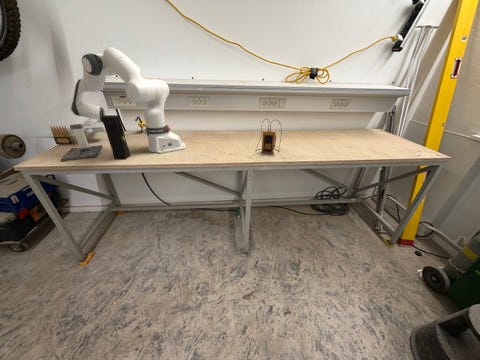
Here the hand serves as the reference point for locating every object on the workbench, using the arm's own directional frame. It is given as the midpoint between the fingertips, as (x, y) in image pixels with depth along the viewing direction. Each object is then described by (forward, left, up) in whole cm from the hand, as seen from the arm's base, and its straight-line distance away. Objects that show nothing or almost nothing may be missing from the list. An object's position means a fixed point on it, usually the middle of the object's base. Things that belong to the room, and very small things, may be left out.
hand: (85, 132), depth 122 cm
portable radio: (-22, +28, -9) cm, 37 cm away
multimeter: (-105, +46, -9) cm, 115 cm away
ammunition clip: (+16, -10, -9) cm, 21 cm away
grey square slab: (0, +15, -9) cm, 18 cm away
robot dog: (-32, -22, -9) cm, 40 cm away
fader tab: (0, +10, -7) cm, 13 cm away
